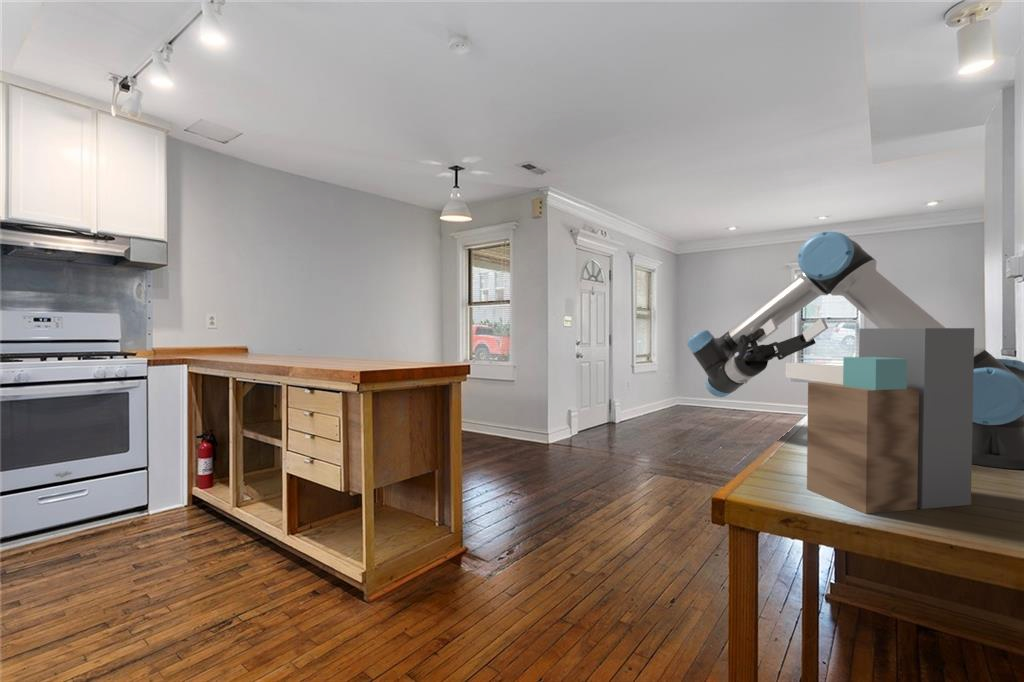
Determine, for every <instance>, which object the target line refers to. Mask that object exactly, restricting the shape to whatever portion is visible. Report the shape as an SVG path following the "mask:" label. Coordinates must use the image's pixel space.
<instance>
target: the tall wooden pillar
mask: <svg viewBox="0 0 1024 682" xmlns="http://www.w3.org/2000/svg"><path fill="white" fill-rule="evenodd" d="M918 430H919V389H915V388H907V387H906V389H900V390H870V389H863V388H855V387H848V386H843V385H841V384H833V383H826V382H818V381H811V382H810V381H809V382H807V437H806V438H807V441H806V442H807V444H806V445H807V446H806V449H807V451H806V453H807V454H806V455H807V456H806V490H808V491H811V492H812V493H816V494H817V495H820V496H823V497H825V498H827V499H829V500H832V501H834V502H837V503H839V504H842V505H844V506H846V507H848V508H851V509H854V510H856V511H858V512H860V513H863V514H878V513H879V514H880V513H889V512H900V511H902V512H903V511H914V510H915V511H916V510H918V507H917V486H918Z"/></svg>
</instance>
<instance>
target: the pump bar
mask: <svg viewBox="0 0 1024 682" xmlns="http://www.w3.org/2000/svg"><path fill="white" fill-rule="evenodd" d="M842 362H843V364H842V365H843V366H842V365H833V364H832V365H831V364H821V363H820V364H819V363H808V362H785V378H787V379H788V378H789V379H794V380H795V379H796V380H803V381H804V380H805V381H809V382H810V381H811V382H826V383H833V384H841V385H843V386H848V387H855V388H863V389H870V390H900V389H906V386H907V359H901V358H884V357H859V356H847V357H846V356H843V361H842Z"/></svg>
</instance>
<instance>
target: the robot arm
mask: <svg viewBox="0 0 1024 682" xmlns="http://www.w3.org/2000/svg"><path fill="white" fill-rule="evenodd" d="M797 264H798V266H799V269H800V274H799V276H797V278H795V279H794V280H792V281H791V282H789V284H787V285H786V286H785V287H783V288H782V289H781V290H779V292H777V293H775V294H774V295H773V296H772V297H771V298H769V299H768V300H766V301H765V302H764V303H763V304H762V305H760V306H758V307H757V308H756V309H755V310H754V311H753V312H751V313H750V314H749V315H747V316H746V317H745V318H743V319H742V320H740V321H739V322H738V323H737V324H736V325H734V326H733V327H731V329H729V330H728V331H727V332H725V333H724V334H723V335H721V336H720V337H714V335H713V334H712V333H711V332H710V331H709V330H707V329H704V330H701V331H698V332H697V333H694V334H693V335H692V336H690V337H689V339H687V342H686V344H687V346H688V348H689V350H690V352H691V354H693V356H694V358H695V359H696V361H697V362H698V363H699V365H700V366H701V368H702V369H703V371H704V372H705V374H706V375H707V378H706V380H705V385H706V390H707V391H708V393H710V394H711V395H712V396H714V397H717V398H724V397H725V398H726V397H727V396H729V395H730V394H731V393H734V392H736V391H737V390H738V389H739V388H740V387H741V386H743V385H744V384H747V383H748V382H749V381H750V380H751V379H753V378H754V377H756V376H758V375H759V374H760V373H761V372H763V371H765V369H767V366H768V363H769V361H771V360H773V359H774V358H777V360H779V361H780V360H783V359H784V358H786V357H788V356H791V355H793V354H795V353H797V352H800V351H801V350H804V349H806V348H808V347H810V346H811V347H812V346H813V345H816V341H815V338H817V337H818V336H819V335H821V334H822V333H824V332H825V331H827V330H828V329H829V326H828V324H827V323H826V320H825V319H824V318H823V317H821V318H819V319H818V320H816V321H815V322H814V323H813V324H810V325H809V327H807V328H806V329H804V330H802V332H801V333H802V334H799V335H796V336H794V337H791V338H788V339H785V340H783V341H780V342H777V341H774V342H772V343H769V344H759V345H758V343H762V342H764V341H765V340H766V339H767V338H768V337H769V336H771V335H772V334H774V332H776V331H777V330H779V327H778V326H780V325H781V324H783V323H784V322H785V321H787V320H788V319H789V318H791V317H792V316H794V315H795V314H797V313H798V312H800V311H801V310H803V308H805V307H806V306H808V305H809V304H811V303H812V302H813V301H815V300H816V299H818V298H819V297H821V296H828V295H829V294H830V295H831V296H833V297H834V296H841V297H844V298H845V299H846V300H847V301H848V302H849V303H850V304H851V305H853V307H855V308H856V309H857V310H858V311H860V313H861V314H863V315H864V316H865V317H866V318H867V319H868V320H869V321H870V322H872V323H873V324H874V325H875V326H876V327H877V328H946V327H945V326H944V325H943V324H941V323H940V322H939V321H937V319H935V318H934V316H932V315H931V314H929V313H928V312H927V311H926V310H925V309H923V308H922V307H921V306H920V305H918V304H917V303H916V302H915V301H914V300H913V299H912V298H910V297H909V296H908V295H906V293H904V292H903V291H901V290H900V289H899V288H898V287H897V286H896V285H894V284H893V283H892V282H891V281H890V280H888V278H886V277H884V275H883V274H882V273H880V272H879V271H878V269H877V260H876V259H875V258H874V257H872V256H871V254H869V253H867V252H866V251H865V250H864V249H863V248H862V246H861V245H860V244H859V243H857V242H856V241H854V240H852V239H851V238H850V237H849V236H847V235H846V234H845V233H842V232H839V231H822V232H819V233H816V234H814V235H811V237H809V238H808V239H807V240H806V241H805V242H804V243H803V244H802V245H801V247H800V249H799V250H798V255H797ZM775 348H776V349H775ZM972 464H974V465H978V466H985V467H992V468H999V469H1000V468H1001V469H1009V470H1011V469H1013V470H1024V362H1023V361H1021V360H1017V359H1009V358H996V357H994V356H993V354H991V353H989V352H988V351H987V350H986V349H984V348H979V347H974V376H973V426H972Z"/></svg>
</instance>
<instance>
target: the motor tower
mask: <svg viewBox="0 0 1024 682" xmlns="http://www.w3.org/2000/svg"><path fill="white" fill-rule="evenodd" d="M858 329H859V330H858V335H859V336H858V357H884V358H901V359H907V386H906V387H907V388H915V389H919V430H918V486H917V509H918V508H919V509H921V510H926V509H937V508H938V509H939V508H950V507H951V508H952V507H962V506H971V505H972V473H973V472H972V467H973V465H972V426H973V376H974V348H975V328H974V327H972V328H971V327H960V328H959V327H955V328H953V327H951V328H950V327H949V328H948V327H947V328H946V327H945V328H878V327H877V328H858Z"/></svg>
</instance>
